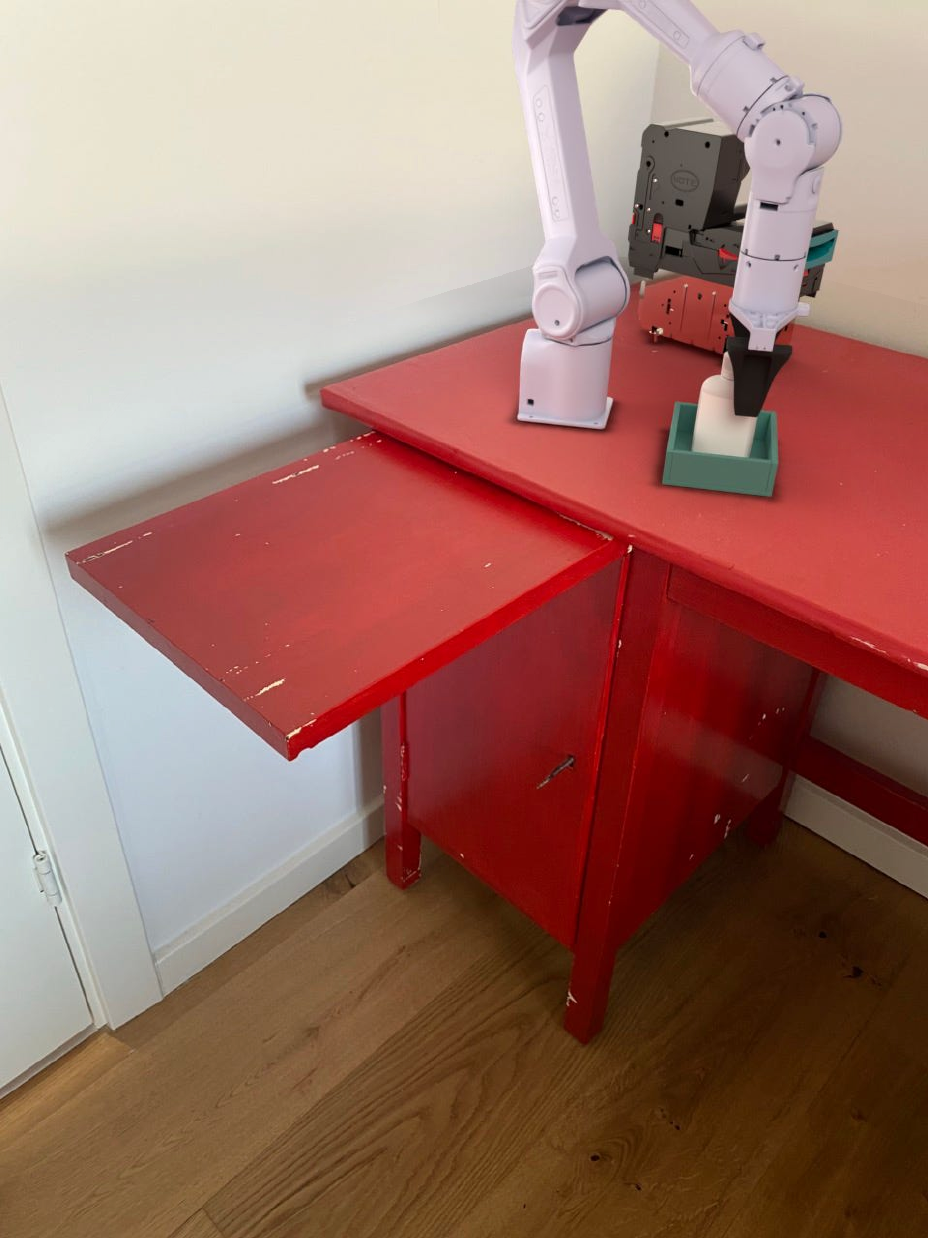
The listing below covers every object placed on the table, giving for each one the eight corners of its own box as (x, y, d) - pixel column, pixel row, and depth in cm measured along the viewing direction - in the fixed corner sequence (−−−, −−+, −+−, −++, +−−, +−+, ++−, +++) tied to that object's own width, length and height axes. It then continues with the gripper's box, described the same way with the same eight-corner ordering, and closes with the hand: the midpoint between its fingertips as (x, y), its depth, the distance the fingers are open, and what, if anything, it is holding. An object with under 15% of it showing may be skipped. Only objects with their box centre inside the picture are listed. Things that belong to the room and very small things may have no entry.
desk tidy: (661, 484, 93) (666, 451, 91) (671, 432, 103) (675, 401, 101) (771, 497, 91) (778, 463, 89) (770, 442, 101) (776, 411, 99)
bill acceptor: (768, 379, 115) (813, 148, 101) (615, 331, 129) (636, 121, 114) (813, 357, 121) (862, 136, 107) (663, 314, 135) (688, 112, 120)
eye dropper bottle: (725, 474, 94) (747, 353, 87) (683, 453, 98) (701, 336, 91) (755, 463, 96) (779, 344, 89) (713, 442, 100) (733, 327, 93)
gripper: (825, 279, 79) (791, 434, 86) (817, 234, 90) (788, 375, 98) (736, 272, 80) (710, 426, 88) (739, 229, 91) (716, 368, 99)
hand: (746, 399), depth 93 cm, fingers open, 7 cm apart
